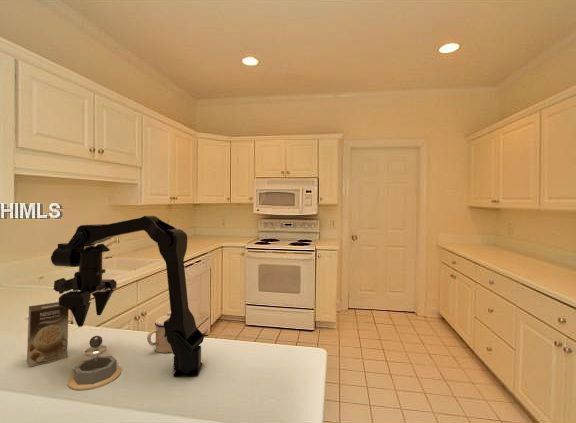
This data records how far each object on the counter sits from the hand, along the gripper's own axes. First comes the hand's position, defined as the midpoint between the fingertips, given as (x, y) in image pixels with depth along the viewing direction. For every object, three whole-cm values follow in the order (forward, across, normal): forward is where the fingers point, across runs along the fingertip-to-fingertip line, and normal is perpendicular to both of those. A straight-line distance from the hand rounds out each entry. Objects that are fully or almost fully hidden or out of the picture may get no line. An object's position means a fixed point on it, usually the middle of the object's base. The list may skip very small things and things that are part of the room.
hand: (90, 320), depth 87 cm
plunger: (+8, +7, +6) cm, 13 cm away
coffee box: (+13, -4, -14) cm, 19 cm away
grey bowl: (+13, +8, +6) cm, 16 cm away
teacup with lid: (+13, -8, +19) cm, 24 cm away
